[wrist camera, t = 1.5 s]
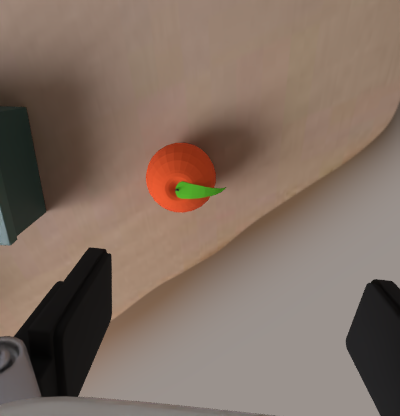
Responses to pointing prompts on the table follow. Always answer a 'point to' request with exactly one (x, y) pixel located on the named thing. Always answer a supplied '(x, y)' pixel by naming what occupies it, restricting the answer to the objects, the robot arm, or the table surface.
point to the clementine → (181, 177)
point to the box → (17, 175)
